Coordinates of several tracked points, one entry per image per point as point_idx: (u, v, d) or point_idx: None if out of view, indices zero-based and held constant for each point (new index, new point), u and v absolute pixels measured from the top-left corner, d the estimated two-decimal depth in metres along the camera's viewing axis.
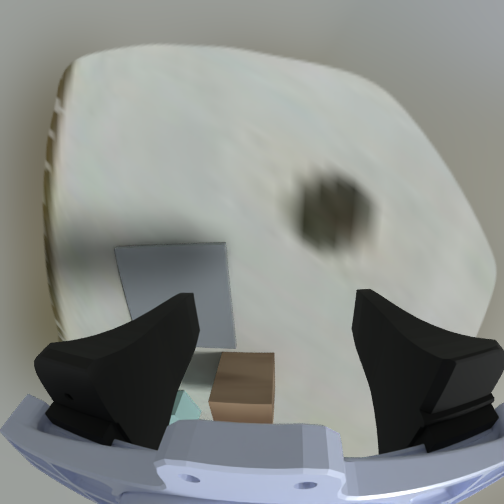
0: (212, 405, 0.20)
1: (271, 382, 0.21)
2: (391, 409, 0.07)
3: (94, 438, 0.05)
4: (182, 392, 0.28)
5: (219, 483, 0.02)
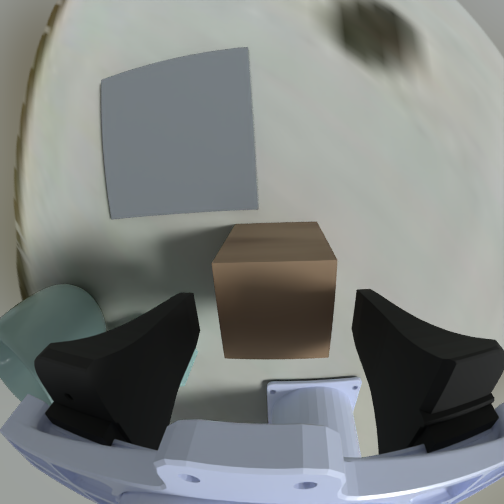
0: (219, 274, 0.11)
1: (324, 241, 0.13)
2: (391, 409, 0.07)
3: (94, 438, 0.05)
4: None
5: (219, 483, 0.02)
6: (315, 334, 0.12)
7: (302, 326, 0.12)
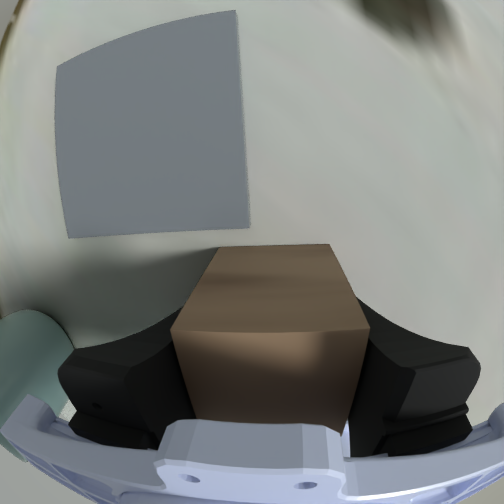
0: (183, 346, 0.07)
1: (345, 283, 0.09)
2: (360, 414, 0.07)
3: (94, 438, 0.05)
4: None
5: (219, 483, 0.02)
6: (326, 417, 0.07)
7: (308, 409, 0.07)
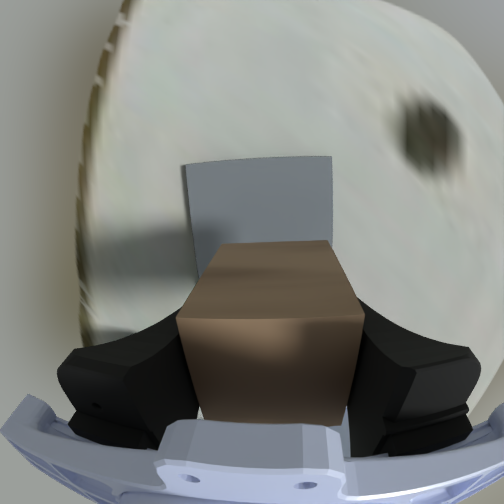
0: (187, 333, 0.07)
1: (342, 275, 0.09)
2: (360, 414, 0.07)
3: (94, 438, 0.05)
4: None
5: (219, 483, 0.02)
6: (326, 404, 0.08)
7: (308, 396, 0.08)
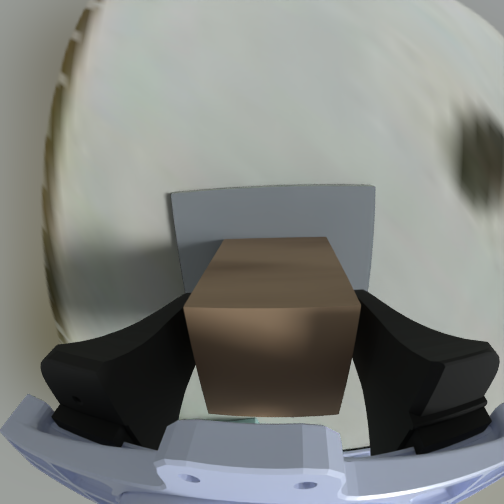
0: (194, 322, 0.08)
1: (340, 269, 0.10)
2: (382, 411, 0.07)
3: (94, 438, 0.05)
4: (253, 421, 0.19)
5: (219, 483, 0.02)
6: (324, 392, 0.08)
7: (307, 384, 0.08)
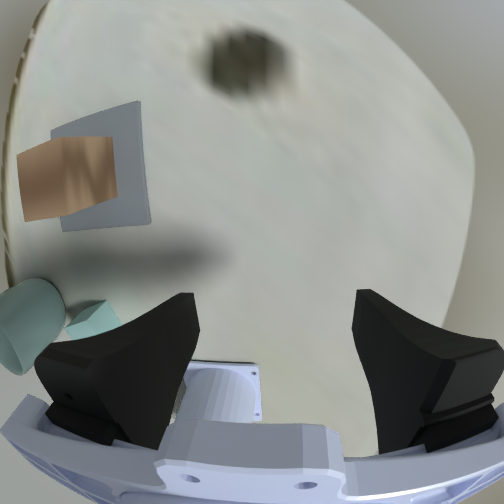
0: (18, 161, 0.13)
1: (80, 136, 0.15)
2: (391, 409, 0.07)
3: (94, 438, 0.05)
4: (104, 301, 0.24)
5: (219, 483, 0.02)
6: (56, 194, 0.14)
7: (49, 188, 0.14)
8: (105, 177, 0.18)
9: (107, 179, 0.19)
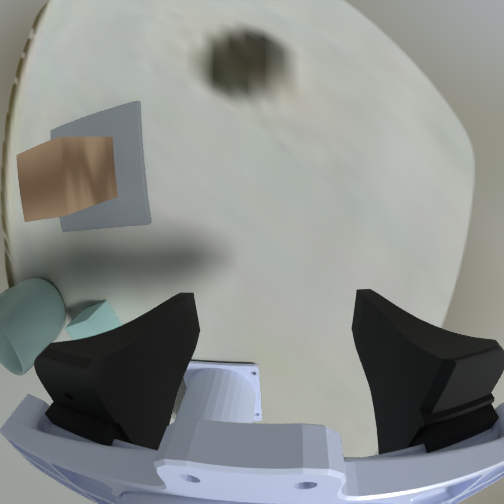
0: (18, 161, 0.13)
1: (80, 137, 0.15)
2: (391, 409, 0.07)
3: (94, 438, 0.05)
4: (104, 301, 0.24)
5: (219, 483, 0.02)
6: (56, 194, 0.14)
7: (49, 188, 0.14)
8: (105, 177, 0.18)
9: (107, 179, 0.19)
